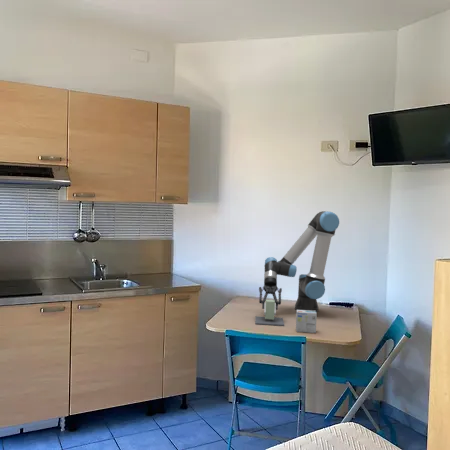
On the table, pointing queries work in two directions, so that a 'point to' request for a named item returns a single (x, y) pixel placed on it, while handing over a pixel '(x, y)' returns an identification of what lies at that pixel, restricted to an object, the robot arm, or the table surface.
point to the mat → (269, 321)
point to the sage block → (270, 309)
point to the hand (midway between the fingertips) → (269, 313)
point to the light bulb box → (306, 321)
